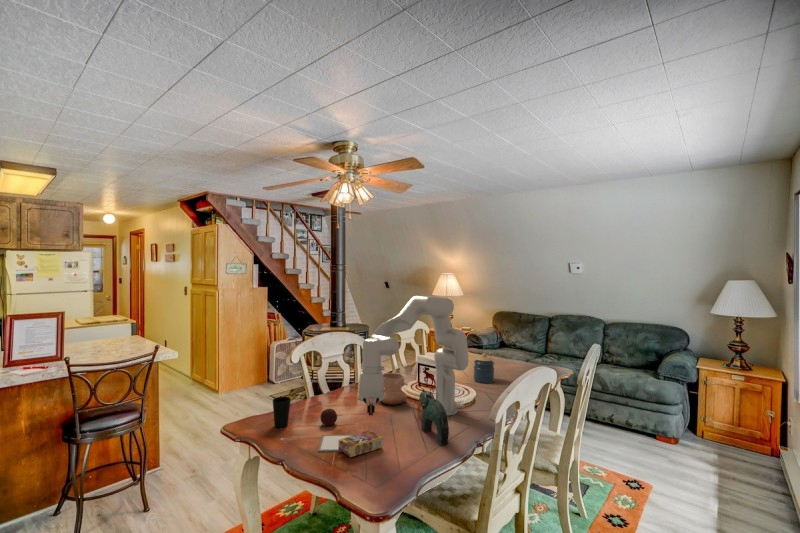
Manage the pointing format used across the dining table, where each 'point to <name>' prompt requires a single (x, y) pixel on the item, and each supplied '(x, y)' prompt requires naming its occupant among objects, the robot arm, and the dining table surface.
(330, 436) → the mat
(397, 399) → the ceramic jug
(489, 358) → the canister
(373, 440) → the candy box
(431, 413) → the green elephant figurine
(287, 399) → the cup
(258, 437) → the dining table surface
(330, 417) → the dark maroon ball
